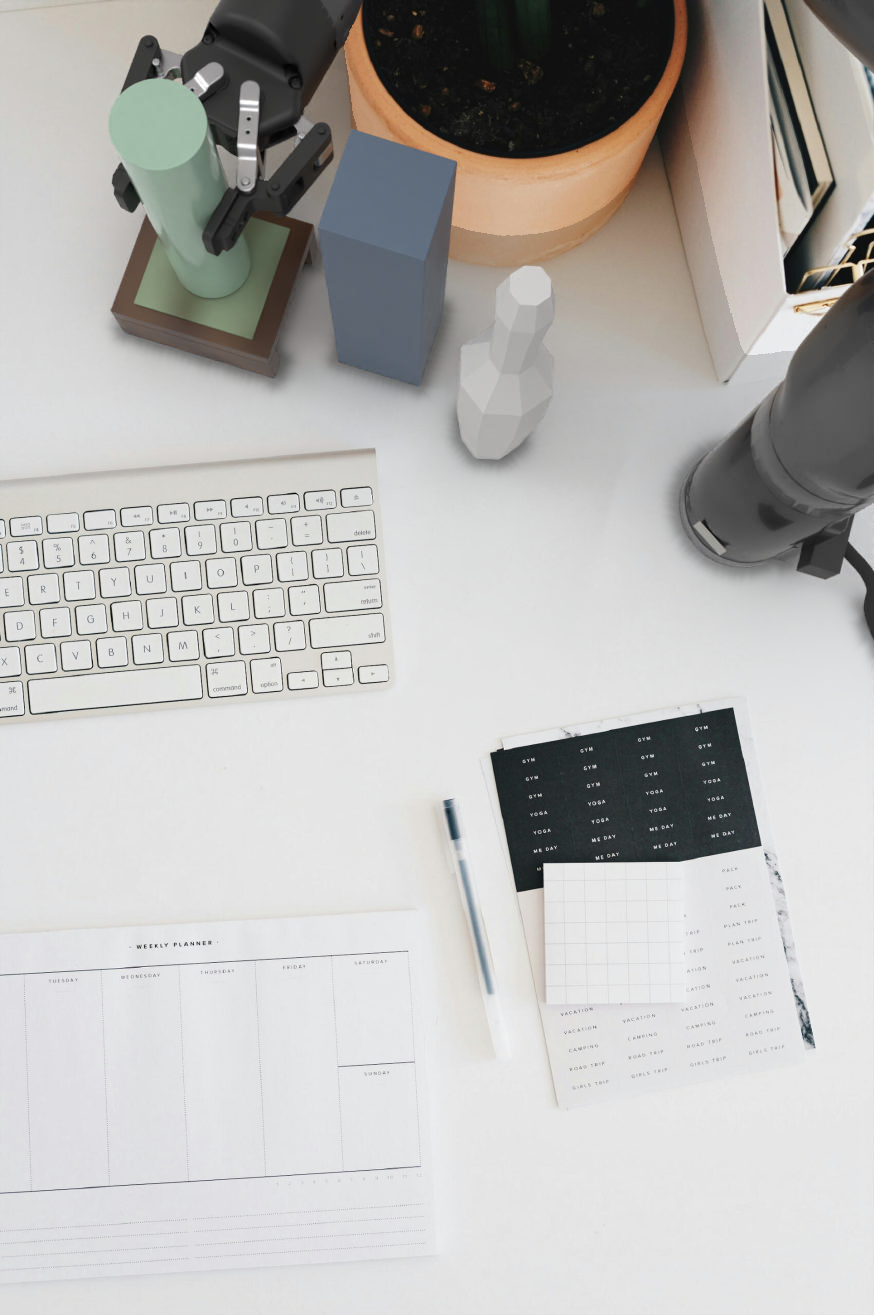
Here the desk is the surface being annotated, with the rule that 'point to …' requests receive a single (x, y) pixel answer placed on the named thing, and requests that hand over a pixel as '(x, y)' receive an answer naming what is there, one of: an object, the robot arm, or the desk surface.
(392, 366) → the plinth
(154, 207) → the mint green cylinder
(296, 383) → the desk surface
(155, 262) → the brown green square block
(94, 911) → the desk surface
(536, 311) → the faceted bottle
